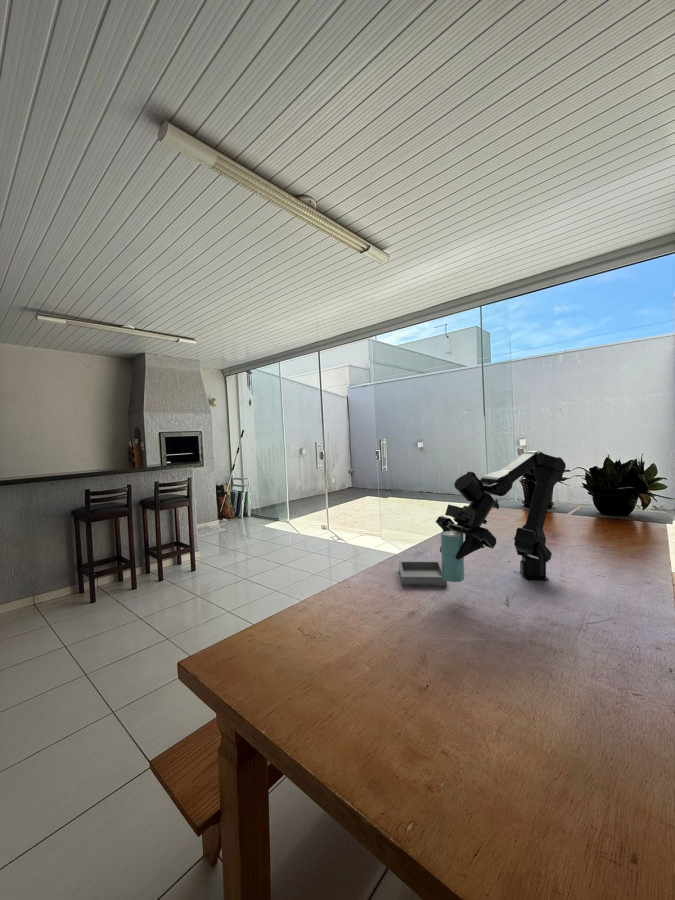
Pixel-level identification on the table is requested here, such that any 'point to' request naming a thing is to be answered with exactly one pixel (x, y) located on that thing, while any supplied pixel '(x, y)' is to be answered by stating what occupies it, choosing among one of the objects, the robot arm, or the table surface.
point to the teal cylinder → (452, 556)
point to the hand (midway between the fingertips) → (448, 555)
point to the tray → (421, 573)
